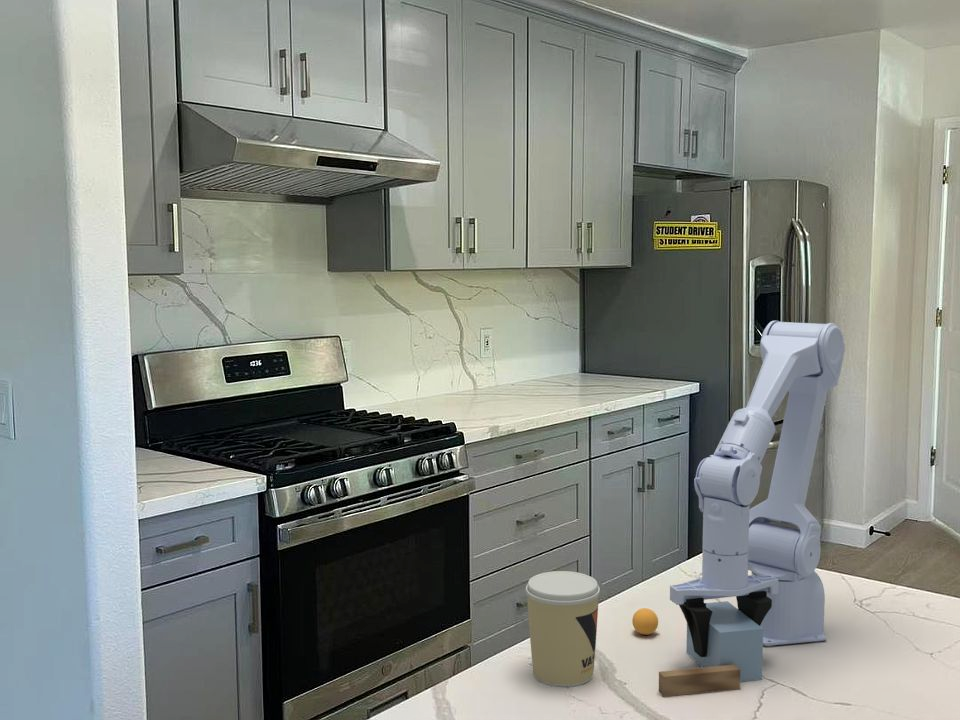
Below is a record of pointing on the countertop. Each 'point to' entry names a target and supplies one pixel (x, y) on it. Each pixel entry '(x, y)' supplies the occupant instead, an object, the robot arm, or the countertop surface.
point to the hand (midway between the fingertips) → (723, 651)
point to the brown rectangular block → (699, 680)
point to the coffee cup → (563, 626)
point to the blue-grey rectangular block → (731, 641)
